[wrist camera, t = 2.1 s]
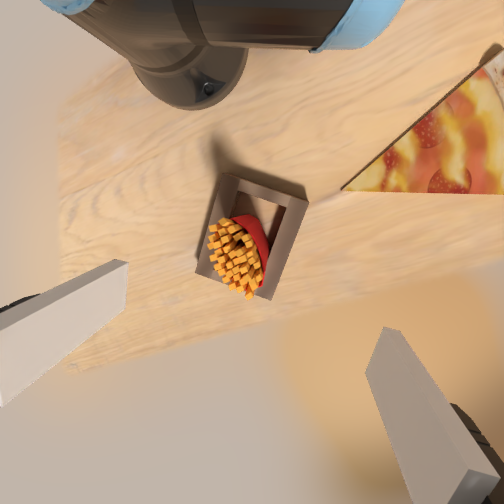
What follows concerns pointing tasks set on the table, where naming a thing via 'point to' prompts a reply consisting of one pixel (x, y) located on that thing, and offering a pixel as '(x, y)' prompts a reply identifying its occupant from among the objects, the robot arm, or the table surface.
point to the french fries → (240, 252)
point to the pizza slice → (449, 144)
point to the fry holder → (284, 237)
